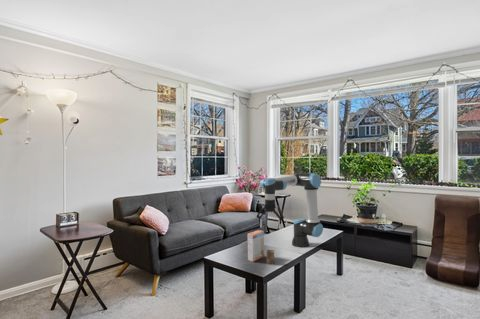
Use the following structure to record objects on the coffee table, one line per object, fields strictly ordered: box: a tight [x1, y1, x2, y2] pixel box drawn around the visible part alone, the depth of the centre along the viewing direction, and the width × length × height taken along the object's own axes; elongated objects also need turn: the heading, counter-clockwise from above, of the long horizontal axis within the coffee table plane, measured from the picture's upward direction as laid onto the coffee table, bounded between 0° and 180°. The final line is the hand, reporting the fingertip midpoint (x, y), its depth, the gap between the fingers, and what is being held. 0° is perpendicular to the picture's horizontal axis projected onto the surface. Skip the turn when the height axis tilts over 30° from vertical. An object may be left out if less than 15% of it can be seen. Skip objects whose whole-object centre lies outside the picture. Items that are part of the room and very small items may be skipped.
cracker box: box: [247, 229, 265, 263], centre depth 227 cm, size 14×6×21 cm, turn 138°
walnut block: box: [266, 249, 275, 265], centre depth 218 cm, size 5×5×9 cm
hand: (270, 227), depth 218 cm, fingers open, 13 cm apart
